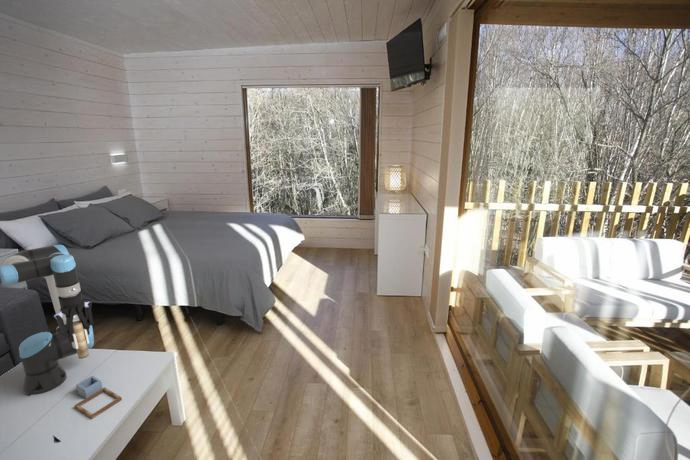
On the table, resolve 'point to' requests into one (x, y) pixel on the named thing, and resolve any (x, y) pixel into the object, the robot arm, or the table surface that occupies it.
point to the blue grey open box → (89, 386)
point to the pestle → (80, 340)
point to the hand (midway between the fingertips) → (81, 345)
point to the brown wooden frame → (117, 399)
